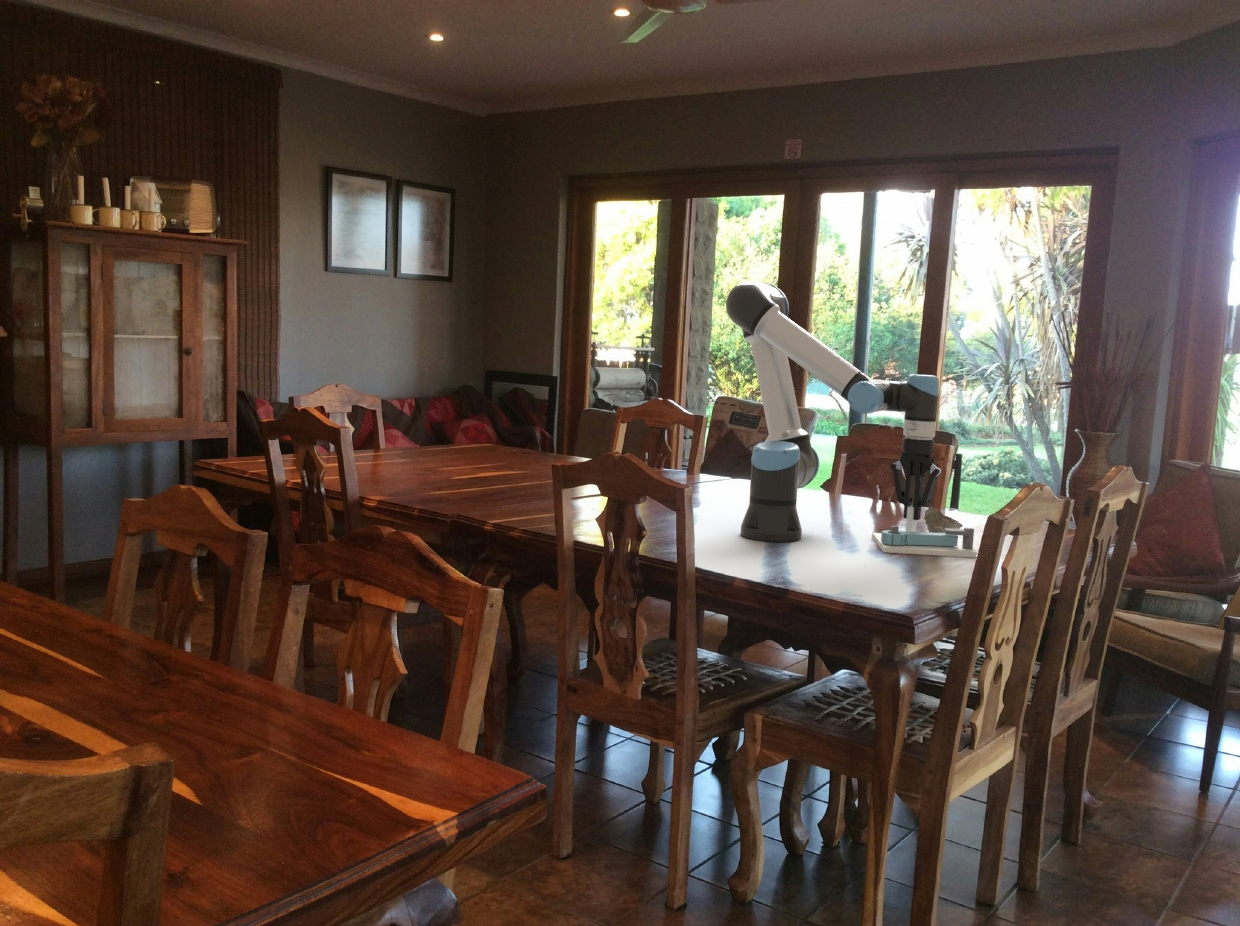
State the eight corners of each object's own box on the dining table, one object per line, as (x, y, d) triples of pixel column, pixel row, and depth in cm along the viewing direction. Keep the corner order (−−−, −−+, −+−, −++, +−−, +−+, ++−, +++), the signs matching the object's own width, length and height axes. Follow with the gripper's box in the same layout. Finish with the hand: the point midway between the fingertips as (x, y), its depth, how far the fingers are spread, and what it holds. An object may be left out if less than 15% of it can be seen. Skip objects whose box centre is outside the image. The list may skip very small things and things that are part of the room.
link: (885, 544, 256) (886, 534, 255) (878, 540, 261) (879, 530, 261) (958, 547, 257) (959, 536, 256) (950, 542, 262) (951, 532, 262)
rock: (940, 537, 270) (923, 505, 275) (927, 550, 275) (909, 518, 280) (972, 534, 276) (954, 503, 281) (958, 547, 280) (941, 515, 285)
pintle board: (883, 552, 254) (885, 527, 253) (871, 537, 273) (873, 514, 272) (978, 557, 252) (980, 532, 252) (960, 542, 271) (961, 519, 270)
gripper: (887, 435, 264) (879, 529, 267) (937, 441, 255) (928, 538, 258) (900, 434, 269) (893, 526, 272) (950, 439, 261) (941, 534, 264)
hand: (910, 532), depth 265 cm, fingers closed
